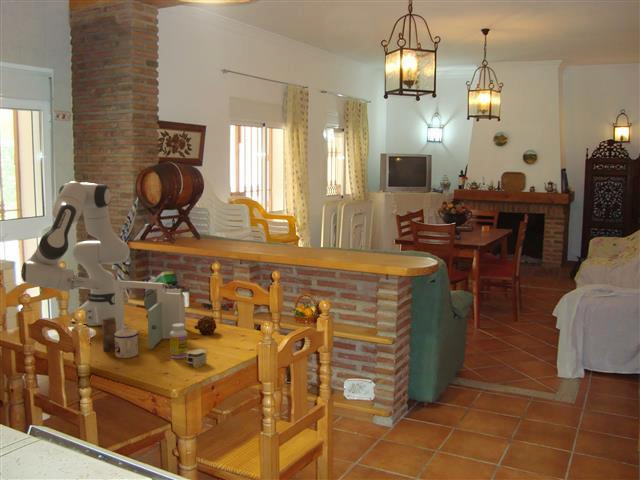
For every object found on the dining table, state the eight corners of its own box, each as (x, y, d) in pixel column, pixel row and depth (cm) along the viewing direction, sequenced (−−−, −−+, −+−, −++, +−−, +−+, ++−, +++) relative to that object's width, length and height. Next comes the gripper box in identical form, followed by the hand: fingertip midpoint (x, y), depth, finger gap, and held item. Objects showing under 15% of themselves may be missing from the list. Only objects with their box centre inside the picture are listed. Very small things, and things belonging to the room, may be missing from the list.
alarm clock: (168, 314, 310) (167, 285, 308) (169, 317, 303) (169, 287, 301) (144, 316, 306) (143, 286, 304) (145, 320, 299) (144, 289, 297)
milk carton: (178, 332, 278) (177, 290, 275) (164, 331, 279) (162, 290, 277) (185, 328, 285) (184, 287, 282) (171, 327, 286) (169, 287, 284)
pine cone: (211, 340, 271) (199, 338, 280) (224, 326, 275) (212, 324, 284) (199, 326, 268) (188, 324, 277) (213, 312, 272) (201, 311, 281)
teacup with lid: (113, 353, 248) (112, 324, 246) (137, 350, 251) (135, 322, 250) (117, 362, 237) (116, 332, 235) (141, 358, 241) (140, 329, 239)
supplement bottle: (178, 360, 239) (177, 328, 237) (166, 357, 243) (165, 325, 241) (191, 355, 244) (190, 324, 243) (179, 352, 248) (178, 321, 247)
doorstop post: (100, 350, 251) (99, 319, 249) (108, 347, 255) (106, 316, 254) (111, 352, 249) (110, 320, 248) (118, 348, 254) (117, 317, 252)
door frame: (116, 334, 275) (114, 281, 272) (119, 332, 277) (117, 280, 274) (179, 340, 266) (178, 285, 263) (182, 338, 268) (181, 284, 265)
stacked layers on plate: (199, 360, 241) (199, 346, 240) (214, 364, 235) (214, 350, 234) (178, 366, 233) (178, 352, 232) (193, 371, 227) (193, 357, 227)
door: (155, 349, 252) (154, 310, 250) (148, 348, 252) (147, 310, 250) (166, 337, 268) (164, 301, 265) (159, 337, 268) (158, 301, 266)
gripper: (73, 271, 234) (109, 278, 240) (63, 272, 251) (98, 279, 258) (69, 287, 232) (106, 295, 239) (60, 287, 250) (94, 294, 257)
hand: (102, 287), depth 249 cm, fingers open, 8 cm apart
